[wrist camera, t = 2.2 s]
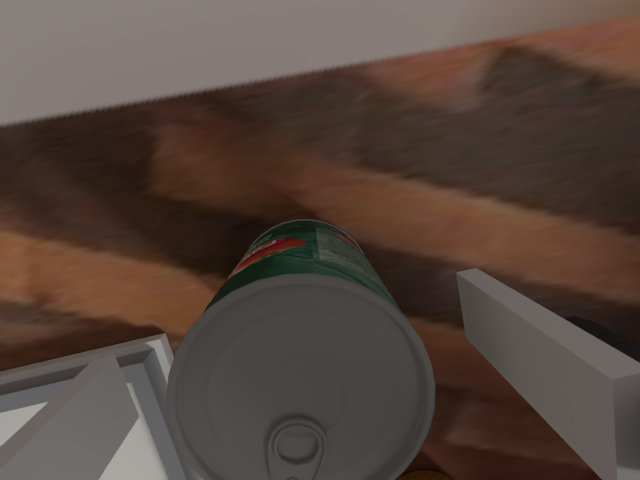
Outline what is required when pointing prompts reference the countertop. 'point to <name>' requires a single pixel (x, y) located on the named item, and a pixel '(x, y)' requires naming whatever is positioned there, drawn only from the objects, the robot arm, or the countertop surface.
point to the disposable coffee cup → (424, 476)
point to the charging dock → (146, 391)
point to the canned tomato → (301, 368)
